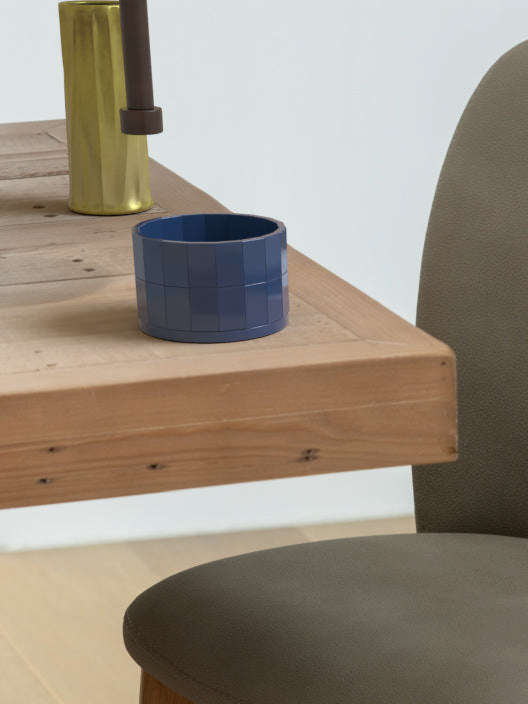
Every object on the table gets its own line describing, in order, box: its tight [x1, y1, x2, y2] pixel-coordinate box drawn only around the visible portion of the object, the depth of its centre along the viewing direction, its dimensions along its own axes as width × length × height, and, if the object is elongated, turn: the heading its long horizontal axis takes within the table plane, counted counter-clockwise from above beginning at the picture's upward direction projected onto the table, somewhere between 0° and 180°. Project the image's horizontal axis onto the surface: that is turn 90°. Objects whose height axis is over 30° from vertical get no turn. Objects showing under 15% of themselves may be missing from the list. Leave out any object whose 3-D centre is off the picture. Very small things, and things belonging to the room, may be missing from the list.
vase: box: [57, 0, 155, 216], centre depth 111 cm, size 6×6×14 cm
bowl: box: [131, 212, 290, 344], centre depth 83 cm, size 8×8×5 cm
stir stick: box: [118, 0, 164, 136], centre depth 102 cm, size 3×3×15 cm
